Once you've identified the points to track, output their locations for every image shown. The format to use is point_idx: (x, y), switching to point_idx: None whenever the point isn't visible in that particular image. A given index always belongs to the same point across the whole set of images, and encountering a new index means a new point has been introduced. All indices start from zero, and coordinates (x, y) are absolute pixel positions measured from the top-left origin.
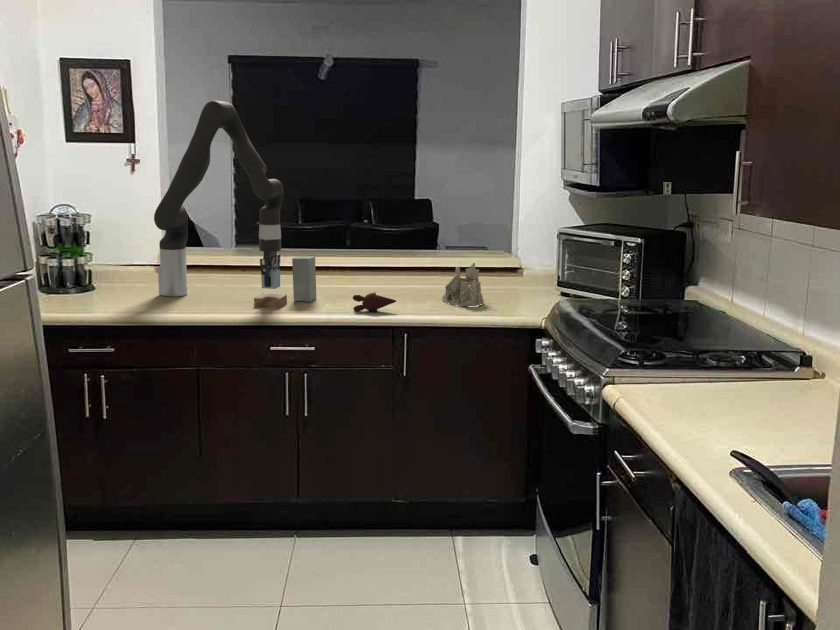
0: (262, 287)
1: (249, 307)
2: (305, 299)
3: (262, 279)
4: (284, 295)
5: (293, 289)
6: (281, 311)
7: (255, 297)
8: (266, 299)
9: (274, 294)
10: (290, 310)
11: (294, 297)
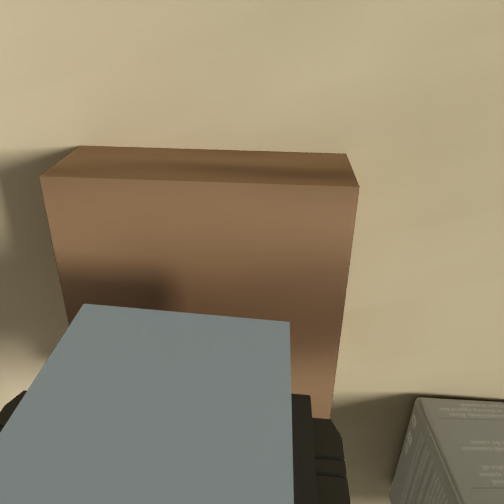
0: (81, 320)
1: (28, 109)
2: (395, 480)
3: (26, 412)
4: None
5: (449, 479)
6: (13, 388)
7: (73, 183)
8: (68, 302)
9: (315, 324)
10: None
11: (421, 422)
